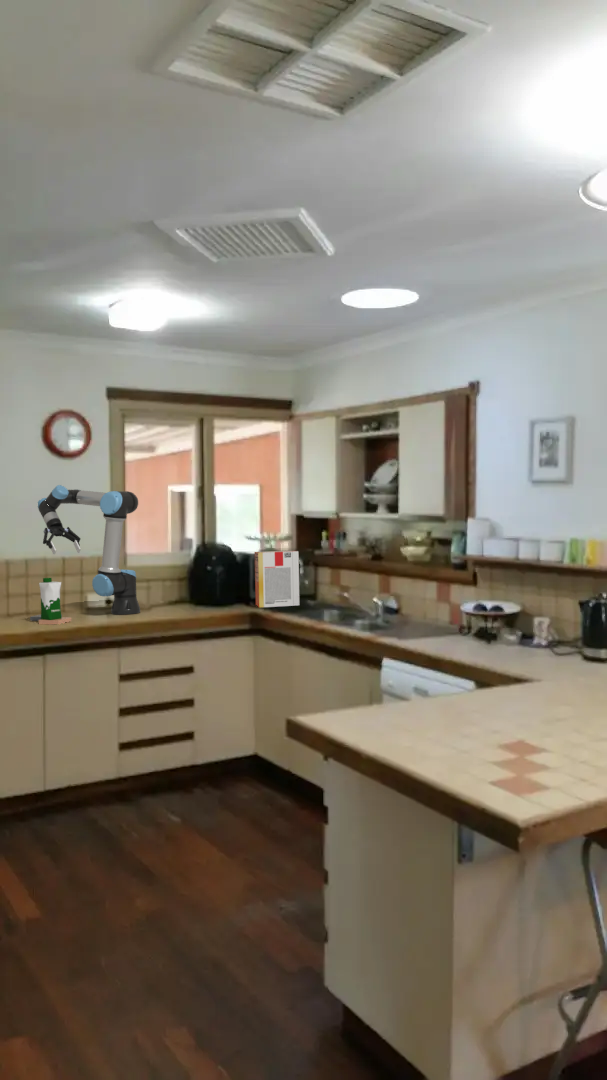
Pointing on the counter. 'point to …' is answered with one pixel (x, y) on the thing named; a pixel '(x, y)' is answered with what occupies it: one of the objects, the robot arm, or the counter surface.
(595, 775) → the counter surface
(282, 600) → the pasta box
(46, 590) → the soya milk
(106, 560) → the robot arm
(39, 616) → the slate tile
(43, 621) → the terracotta tile
